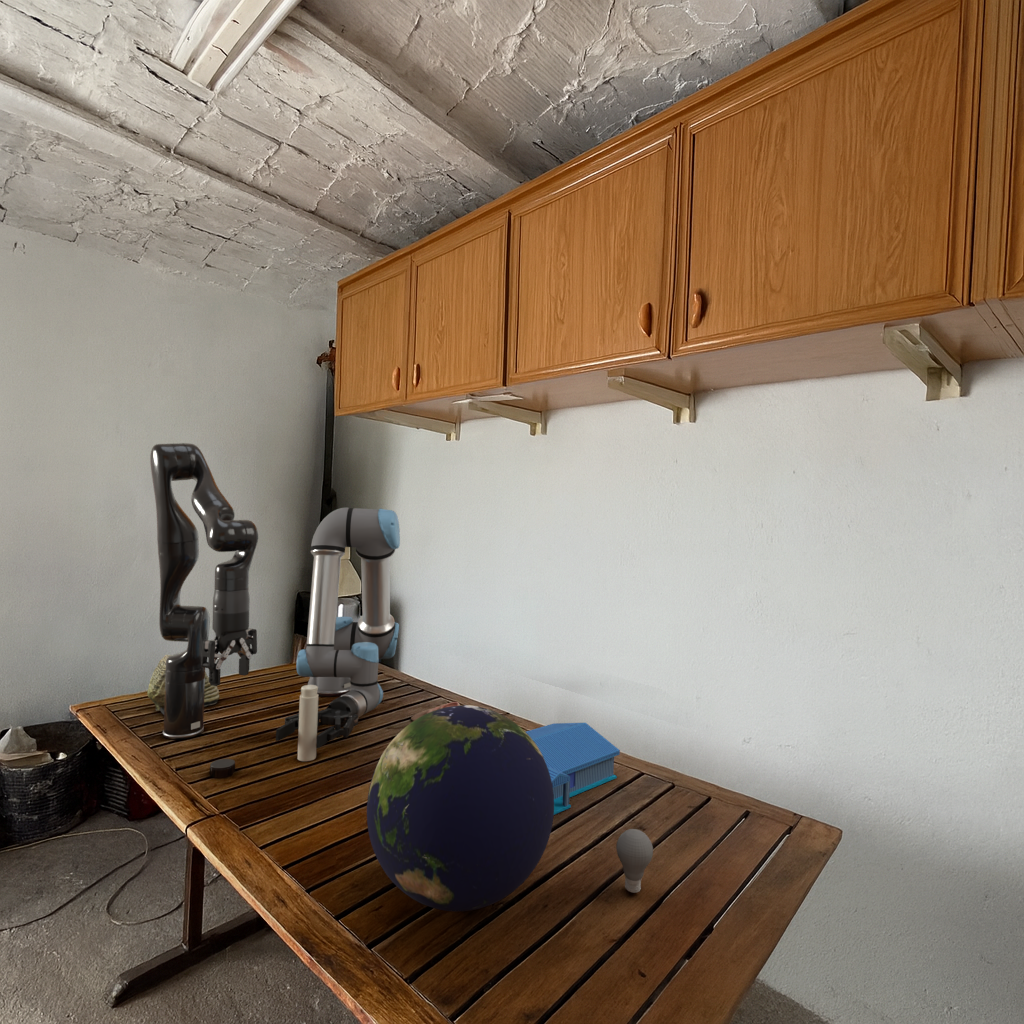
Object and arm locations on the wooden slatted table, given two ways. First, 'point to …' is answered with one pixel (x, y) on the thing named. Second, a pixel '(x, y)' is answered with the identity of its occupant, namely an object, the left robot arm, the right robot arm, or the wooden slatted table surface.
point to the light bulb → (634, 857)
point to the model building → (574, 759)
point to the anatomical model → (434, 710)
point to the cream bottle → (308, 723)
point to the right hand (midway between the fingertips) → (297, 738)
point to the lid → (222, 768)
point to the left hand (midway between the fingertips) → (229, 679)
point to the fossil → (158, 687)
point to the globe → (460, 808)
